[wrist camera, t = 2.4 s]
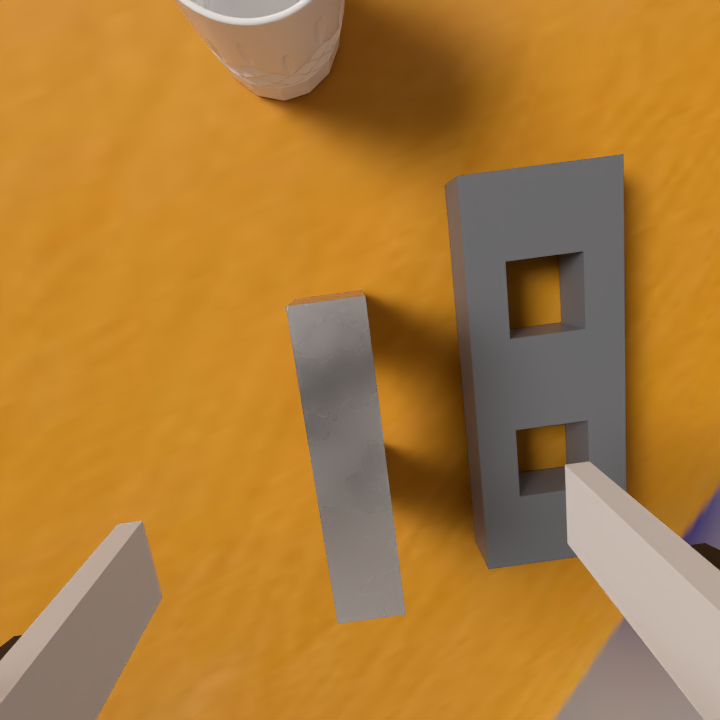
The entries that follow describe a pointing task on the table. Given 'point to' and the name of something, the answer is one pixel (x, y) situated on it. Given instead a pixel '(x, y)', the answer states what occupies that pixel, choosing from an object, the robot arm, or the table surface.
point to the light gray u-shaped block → (347, 452)
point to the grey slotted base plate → (539, 343)
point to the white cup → (270, 41)
